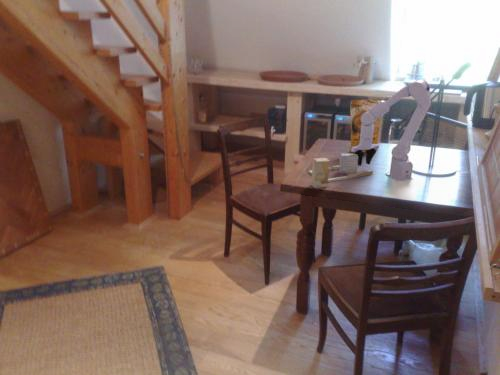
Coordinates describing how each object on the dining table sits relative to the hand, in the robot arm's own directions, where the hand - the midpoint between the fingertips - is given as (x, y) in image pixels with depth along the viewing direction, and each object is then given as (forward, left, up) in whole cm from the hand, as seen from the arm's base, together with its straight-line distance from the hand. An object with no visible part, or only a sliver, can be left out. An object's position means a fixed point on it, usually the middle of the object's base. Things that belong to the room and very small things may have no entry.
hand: (363, 164), depth 211 cm
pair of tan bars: (0, +7, -3) cm, 7 cm away
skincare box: (-10, +31, -3) cm, 32 cm away
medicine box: (0, +9, -3) cm, 9 cm away
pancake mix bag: (+25, -19, -3) cm, 32 cm away
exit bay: (0, +20, -3) cm, 20 cm away
